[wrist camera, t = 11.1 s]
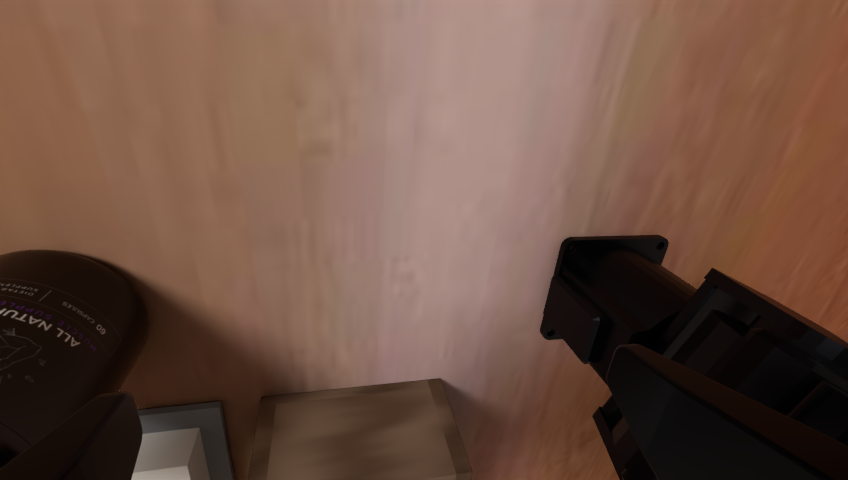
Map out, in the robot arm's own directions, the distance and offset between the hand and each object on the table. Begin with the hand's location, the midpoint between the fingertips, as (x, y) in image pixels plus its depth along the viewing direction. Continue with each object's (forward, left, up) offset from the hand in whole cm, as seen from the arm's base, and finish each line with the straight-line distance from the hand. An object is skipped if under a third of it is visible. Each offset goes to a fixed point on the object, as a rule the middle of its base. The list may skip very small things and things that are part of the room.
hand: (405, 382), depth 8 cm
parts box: (0, +17, -12) cm, 21 cm away
